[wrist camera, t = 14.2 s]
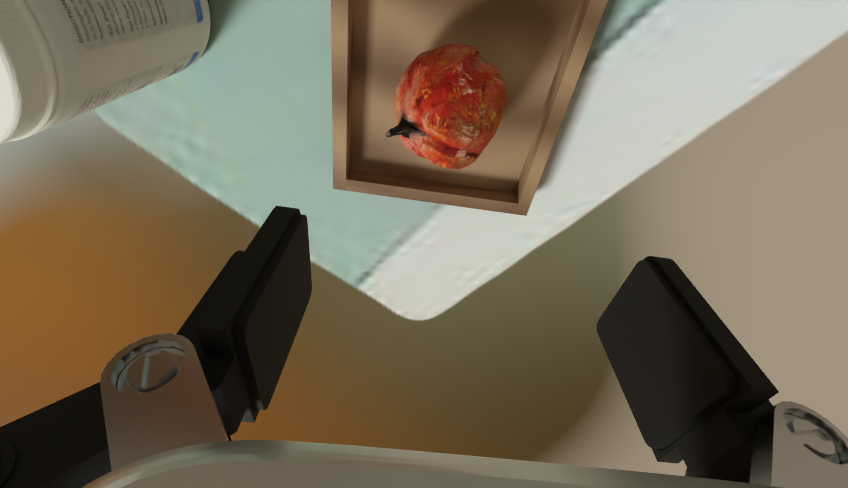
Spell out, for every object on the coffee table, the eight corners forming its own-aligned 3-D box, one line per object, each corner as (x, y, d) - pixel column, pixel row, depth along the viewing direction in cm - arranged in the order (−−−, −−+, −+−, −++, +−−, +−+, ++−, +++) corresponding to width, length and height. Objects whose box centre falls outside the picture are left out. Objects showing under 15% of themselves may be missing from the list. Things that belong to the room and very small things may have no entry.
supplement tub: (43, -148, 20) (-538, -323, 8) (223, -57, 22) (-25, -88, 10) (70, 37, 25) (-250, 95, 13) (211, 95, 27) (42, 189, 16)
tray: (340, -70, 21) (330, -74, 19) (599, -22, 22) (615, -21, 20) (340, 174, 31) (333, 188, 29) (520, 199, 32) (526, 215, 30)
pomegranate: (482, 23, 25) (353, 33, 20) (565, 55, 21) (429, 78, 16) (464, 123, 30) (358, 151, 26) (529, 165, 26) (416, 206, 21)
